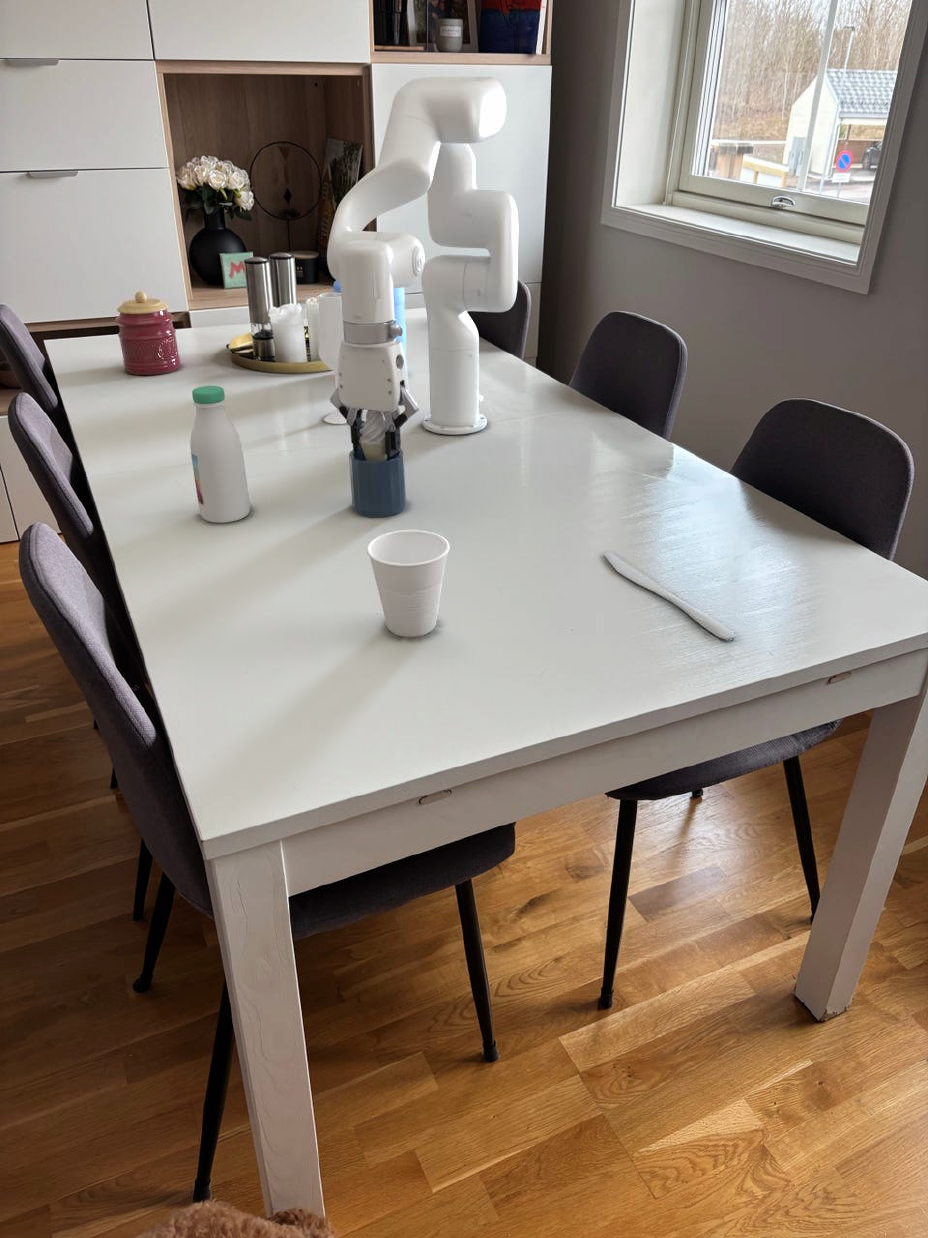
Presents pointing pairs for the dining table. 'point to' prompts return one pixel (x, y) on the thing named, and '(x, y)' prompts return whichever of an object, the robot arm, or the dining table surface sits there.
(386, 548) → the cup
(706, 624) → the butter knife
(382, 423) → the ice cream cone
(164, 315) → the kitchen canister
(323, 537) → the dining table surface
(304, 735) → the dining table surface
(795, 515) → the dining table surface
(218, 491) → the milk bottle
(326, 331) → the champagne flute
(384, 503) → the tumbler
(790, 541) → the dining table surface
